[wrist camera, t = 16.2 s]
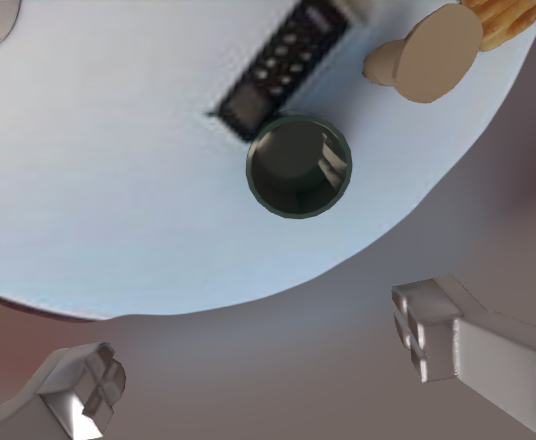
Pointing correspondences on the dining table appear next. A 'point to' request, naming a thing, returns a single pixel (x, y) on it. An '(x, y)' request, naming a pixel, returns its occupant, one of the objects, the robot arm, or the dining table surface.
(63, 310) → the dining table surface
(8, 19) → the robot arm
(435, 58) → the handle
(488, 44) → the pastry
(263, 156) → the crock
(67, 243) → the dining table surface
